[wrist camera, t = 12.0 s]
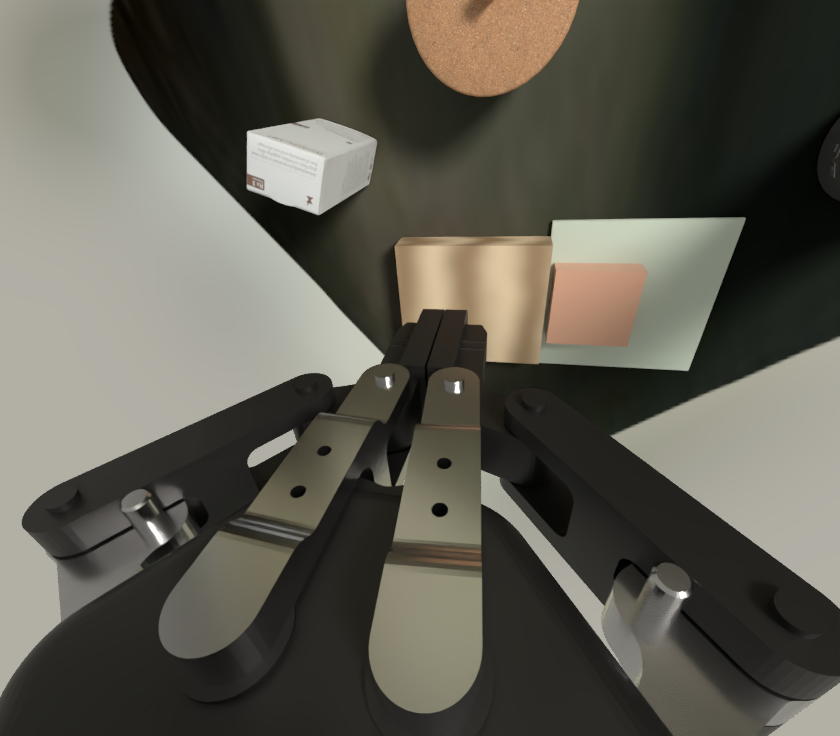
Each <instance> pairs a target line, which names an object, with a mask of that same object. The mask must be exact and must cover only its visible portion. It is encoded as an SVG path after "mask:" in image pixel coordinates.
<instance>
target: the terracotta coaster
mask: <svg viewBox="0 0 840 736" xmlns="http://www.w3.org/2000/svg"><path fill="white" fill-rule="evenodd" d="M646 276H647V270H646V269H645V268H644V266H643V265H642V264H627V263H554V269H553V277H552V284H551V292H550V299H549V307H548V314H547V322H546V329H545V337H546V343H555V344H576V345H597V346H618V347H627V346H628V342H629V339H630V335H631V331H632V328H633V324H634V320H635V317H636V313H637V309H638V305H639V302H640V298H641V294H642V291H643V287H644V283H645V280H646Z"/></svg>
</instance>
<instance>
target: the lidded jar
mask: <svg viewBox="0 0 840 736" xmlns="http://www.w3.org/2000/svg"><path fill="white" fill-rule="evenodd" d="M578 3H579V0H406V9H407V16H408V22H409V26H410V30H411V34H412V37H413V40H414V43H415V45H416V47H417V50H418V52H419V54H420V56H421V57H422V59H423V61H424V63H425V64H426V66H427V67H428V68H429V69H430V71H431V72H432V73H433V74H434V75H435V76H436V77H437V78H438V79H439V80H440V81H441V82H442V83H444V84H445V85H446V86H448V87H450V88H451V89H453V90H455V91H457V92H460V93H463V94H465V95H470V96H476V97H492V96H497V95H501V94H505V93H507V92H510V91H512V90H515V89H517V88H518V87H520V86H522V85H523V84H525V83H527V82H528V81H529V80H531V79H532V78H533V77H534V76H535V75H537V74H538V73H539V72H540V71H541V70H542V69H543V68H544V67H545V66H546V64H547V63H548V62H549V61H550V60H551V59H552V57H553V56H554V54H555V53H556V51H557V50H558V49H559V47H560V46H561V44H562V42H563V40H564V38H565V36H566V35H567V33H568V31H569V29H570V26H571V23H572V21H573V18H574V16H575V13H576V10H577V6H578Z"/></svg>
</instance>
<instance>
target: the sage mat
mask: <svg viewBox="0 0 840 736" xmlns="http://www.w3.org/2000/svg"><path fill="white" fill-rule="evenodd" d="M745 220H746V218H745V217H725V218H660V219H596V220H553V222H552V231H551V239H552V243H553V251H552V259H551V267H550V275H549V284H548V292H547V300H546V308H545V316H544V324H543V332H542V340H541V348H540V357H539V363H552V364H571V365H589V366H608V367H627V368H646V369H665V370H684V371H688V370H689V368H690V365H691V362H692V360H693V357H694V354H695V352H696V349H697V346H698V344H699V341H700V339H701V336H702V333H703V331H704V328H705V325H706V323H707V320H708V317H709V315H710V312H711V310H712V307H713V304H714V302H715V299H716V296H717V294H718V291H719V288H720V286H721V283H722V281H723V278H724V275H725V273H726V270H727V267H728V265H729V262H730V259H731V257H732V254H733V252H734V249H735V246H736V244H737V241H738V238H739V236H740V233H741V230H742V228H743V225H744V223H745ZM554 263H627V264H642V265H643V266H644V268H645V269H646V270H647V276H646V280H645V283H644V287H643V291H642V294H641V298H640V302H639V305H638V309H637V313H636V317H635V320H634V324H633V328H632V331H631V335H630V339H629V342H628V346H627V347H618V346H597V345H576V344H555V343H546V337H545V329H546V322H547V314H548V307H549V299H550V292H551V284H552V277H553V269H554Z"/></svg>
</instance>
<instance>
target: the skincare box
mask: <svg viewBox="0 0 840 736" xmlns="http://www.w3.org/2000/svg"><path fill="white" fill-rule="evenodd" d="M376 146H377V140H376V139H374V138H372V137H370V136H368V135H366V134H363V133H361V132H358V131H356V130H353V129H351V128H348V127H345V126H342V125H339V124H336V123H333V122H330V121H327V120H324V119H314V120H307V121H302V122H296V123H290V124H285V125H279V126H273V127H268V128H263V129H258V130H252V131H248V132H247V189H248V190H249V191H252V192H255V193H258V194H261V195H263V196H266V197H269V198H272V199H273V200H275V201H277V202H279V203H281V204H284V205H287V206H293V207H296V208H299V209H302V210H305V211H308V212H310V213H313V214H316V215H320V214H322V213H323V212H325V211H327V210H328V209H330V208H332V207H333V206H335V205H337V204H338V203H340V202H341V201H343V200H345V199H346V198H348V197H349V196H351V195H353V194H354V193H356V192H358V191H359V190H361V189H362V188H364V187H366V186H367V185H369V183H370V178H371V173H372V168H373V163H374V157H375V152H376Z"/></svg>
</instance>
